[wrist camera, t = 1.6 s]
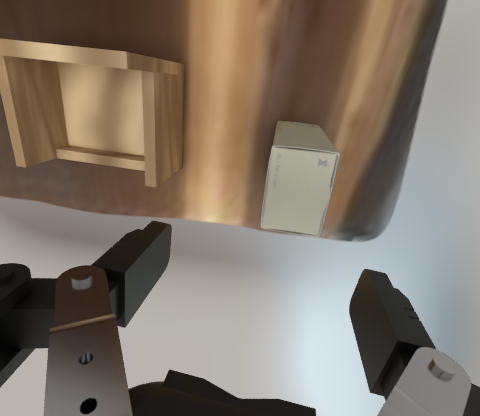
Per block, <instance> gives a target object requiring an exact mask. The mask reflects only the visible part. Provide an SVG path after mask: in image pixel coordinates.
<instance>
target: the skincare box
mask: <svg viewBox="0 0 480 416" xmlns="http://www.w3.org/2000/svg"><path fill="white" fill-rule="evenodd" d="M339 156H340V153H339V152H338V150H337V149H336V148H335V147H334V145H333V144H332V142H331V141H330V140H329V138H328V137H327V136H326V134H325V133H324V132H323V130H322V129H321V127H320V126H319V125H314V124H307V123H299V122H291V121H280V120H279V121H277V125H276V131H275V136H274V141H273V145H272V149H271V154H270V159H269V164H268V170H267V177H266V183H265V191H264V198H263V206H262V215H261V224H260V227H261V228H264V229H269V230H275V231H280V232H286V233H292V234H297V235H303V236H309V237H319V236H320V234H321V230H322V227H323V223H324V219H325V215H326V212H327V208H328V204H329V200H330V196H331V192H332V187H333V183H334V178H335V174H336V169H337V165H338V160H339Z"/></svg>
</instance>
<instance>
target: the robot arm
mask: <svg viewBox="0 0 480 416" xmlns="http://www.w3.org/2000/svg"><path fill="white" fill-rule="evenodd" d="M171 231H172V228H171V225H170V224H166V223H162V222H157V221H152V222H151V223H150V224H148V225H147V226H146V227H145V228H144V229H143V230H140V229H137V230H134V231H132V232H130V233H127V234H126V235H125V236H124V237H123V238H121V239H120V241H119V242H117V243H116V244H115V245H114V246H113V247H111V248H110V249H109V250H108V251H107V252H106V253H105V254H103V255H102V256H101V257H100V258H99V259H98V260H97V261H95V262H94V263H93V264H92V265H91V266H87V265H85V266H78V267H74V268H71V269H69V270H67V271H65V272H64V273H62V274H61V275H60V276H59V277H58V278H56V279H50V278H47V279H45V278H31V274H30V269H29V268H28V267H27V266H25V265H22V264H15V263H8V264H1V265H0V387H1V386H2V385H3V384H4V383H5V382H6V381H7V379H8V378H9V377H10V376H11V375H12V374H13V373H14V371H15V370H16V369H17V368H18V367H19V366H20V365H21V364H22V363H23V362H24V360H25V359H26V358H27V357H28V356H29V355H30V354H31V353H32V352H33V350H34V349H35V348H48V360H47V375H46V389H45V404H44V416H316V410H315V409H314V408H310V407H306V406H303V405H299V404H295V403H292V402H288V401H284V400H281V399H240V398H237V397H235V396H233V395H231V394H230V393H228V392H226V391H224V390H223V389H221V388H219V387H217V386H215V385H214V384H212V383H210V382H209V381H207V380H205V379H203V378H199V377H195V376H192V375H188V374H184V373H180V372H177V371H173V370H169V371H168V374H167V376H166V378H165V381H164V382H151V383H146V384H142V385H138V386H136V387H133V388H130V389H128V385H127V380H126V374H125V368H124V362H123V357H122V351H121V345H120V339H119V334H118V327H117V326H121V327H126V326H127V324H128V323H129V322H130V320H131V318H132V317H133V316H134V314H135V313H136V311H137V310H138V308H139V307H140V306H141V304H142V303H143V301H144V300H145V298H146V297H147V295H148V294H149V293H150V291H151V290H152V288H153V287H154V285H155V284H156V282H157V281H158V280H159V278H160V277H161V275H162V274H163V272H164V271H165V269H166V267H167V265H168V262H169V257H170V245H171ZM349 312H350V318H351V322H352V325H353V329H354V333H355V337H356V340H357V344H358V348H359V352H360V356H361V360H362V364H363V367H364V371H365V375H366V379H367V383H368V387H369V390H370V393H374V394H377V395H381V396H384V397H385V400H386V402H385V404H384V405H383V407H382V409H381V410H380V412H379V414H378V416H480V387H478V386H476V385H474V384H472V383H471V381H470V379H469V376H468V375H467V373H466V372H465V370H464V369H463V368H462V367H461V366H460V365H459V364H458V363H457V362H455V360H453V359H452V358H451V357H449V356H448V355H446V354H444V353H443V352H440V351H438V350H436V348H435V346H434V344H433V343H432V341H431V339H430V337H429V335H428V334H427V332H426V330H425V328H424V326H423V325H422V323H421V321H419V317H418V316H417V314H416V312H414V309H413V307H412V305H411V303H410V301H409V299H408V298H407V297H406V296H405V295H403V294H402V293H401V292H400V291H399V290H398V289H396V288H393V286H392V284H391V282H390V280H389V278H388V276H387V274H385V273H382V272H377V271H373V270H368V269H364V270H363V272H362V274H361V276H360V278H359V281H358V283H357V286H356V288H355V291H354V293H353V295H352V298H351V301H350V308H349Z"/></svg>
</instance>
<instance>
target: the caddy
mask: <svg viewBox="0 0 480 416" xmlns="http://www.w3.org/2000/svg"><path fill="white" fill-rule="evenodd" d="M0 91H1V96H2V100H3V105H4V110H5V114H6V119H7V123H8V128H9V132H10V137H11V142H12V146H13V151H14V155H15V160H16V164H17V166H21V167H29V166H32V165H36V164H39V163H42V162H46V161H49V160H52V159H55V158H61V159H68V160H74V161H81V162H88V163H95V164H101V165H108V166H115V167H122V168H128V169H135V170H142V171H145V186H151V187H157V186H158V185H160V184H161V183H162V182H164V181H165V180H166V179H168V178H169V177H170V176H172V175H173V174H174V173H176V172H177V171H178V170H180V169H181V168H182V150H183V100H184V64H181V63H176V62H172V61H167V60H162V59H158V58H153V57H148V56H144V55H139V54H135V53H130V52H124V51H114V50H105V49H95V48H85V47H76V46H66V45H56V44H46V43H37V42H27V41H17V40H8V39H0Z"/></svg>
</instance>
